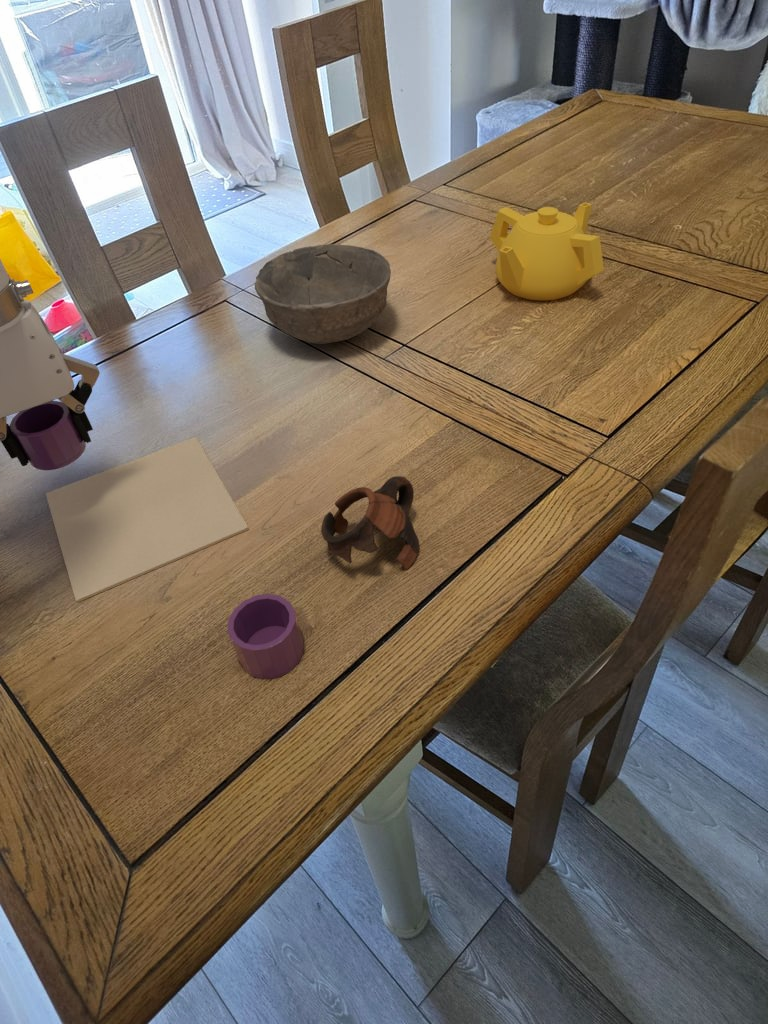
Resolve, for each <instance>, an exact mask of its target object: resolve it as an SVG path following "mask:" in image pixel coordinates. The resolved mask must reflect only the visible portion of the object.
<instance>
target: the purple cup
mask: <svg viewBox="0 0 768 1024" xmlns="http://www.w3.org/2000/svg"><path fill="white" fill-rule="evenodd" d="M9 426H10V429H11V432H12V434H13V436H14V437H15V439H16V441H17V442H18V444H19V446H20V447H21V449H22V451H23V452H24V454H25V456H26V457H27V459H28V462H29V464H30V465H31V466H32V467H33V468H35V469H37V470H40V471H54V470H59V469H62V468H64V467H67V466H69V465H70V464H73V463H74V462H75V461H77V460H78V459H79V458H80V457H81V456H82V455H83V454H84V453H85V451H86V447H87V442H84V440H83V438H82V436H81V434H80V432H79V430H78V428H77V426H76V424H75V422H74V420H73V418H72V416H71V413H70V410H69V408H68V406H66V405H65V404H64V403H62V402H61V401H60V400H53V401H50V402H47V403H44V404H41V405H38V406H35V407H32V408H29V409H27V410H24V411H21V412H18V413H16V414H15V415H14V416H13V417H12V419H11V421H10V423H9Z"/></svg>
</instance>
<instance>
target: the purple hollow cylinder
mask: <svg viewBox="0 0 768 1024" xmlns="http://www.w3.org/2000/svg"><path fill="white" fill-rule="evenodd" d="M226 631H227V634H228V636H229V639H230V641H231V644H232V647H233V648H234V651H235V652H236V653H235V654H236V656H237V658H238V661H239V662H240V665H241V667H242V669H243V670H244V671H245V673H247V674H249V675H250V676H251V677H253V678H257V679H263V680H269V679H270V680H272V679H276V678H280V677H282V676H284V675H287V674H288V673H290V672H291V671H292V670H293V669H294V668H296V666H297V665H298V664H299V663H300V661H301V659H302V657H303V654H304V649H305V645H304V644H305V643H304V637H303V634H302V631H301V627H300V624H299V620H298V616H297V613H296V609H295V608H294V606H293V605H292V603H291V602H290V601H289V600H287V599H286V598H285V597H283V596H281V595H278V594H272V593H264V594H255V595H254V596H251V597H249V598H247V599H244V600H243V601H242V602H240V604H238V605H237V606H236V607H235V608H234V609H233V610H232V612H231V614H230V615H229V618H228V620H227V629H226Z"/></svg>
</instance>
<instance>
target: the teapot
mask: <svg viewBox="0 0 768 1024" xmlns="http://www.w3.org/2000/svg"><path fill="white" fill-rule="evenodd" d="M592 208H593V204H592V203H589V202H583V203H581V204H578V207H577V209H576V211H575V212H574V214H573V215H571V214H569V213H566V212H562V211H559V209H558V208H556V207H553V206H544V207H541V208H539V209H538V210H537V211H533V212H530V213H526V214H525V215H523V214H521V213H519V212H517V211H515V210H513V209H511V208H509V207H508V206H505V207H502V208H501V209H499V210H498V211H497V213H496V216H495V219H494V222H493V224H492V228H491V231H490V234H489V240H490V241H491V242H492V244H493V245H494V246H495V248H496V250H497V252H498V254H497V259H496V262H495V275H496V279H497V280H498V282H500V284H501V285H502V286H503V287H504V288H505V289H506V291H507V292H509V293H511V294H512V295H514V296H516V297H519V298H520V299H521V298H522V299H525V300H529V301H540V302H544V301H554V300H559V299H560V300H561V299H563V298H567V297H568V296H571V295H573V294H575V292H577V291H578V290H579V289H581V288H582V287H583V286H584V285H585V284H586V283H587V282H588V280H591V278H594V277H595V276H596V275H598V274H599V273H601V272H603V271H604V270H605V267H604V259H603V252H602V243H601V236H600V235H593V234H587V230H588V226H589V221H590V217H591V212H592ZM510 226H511V227H512V228H511V229H510V230H509V227H510ZM508 230H509V232H508Z"/></svg>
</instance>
